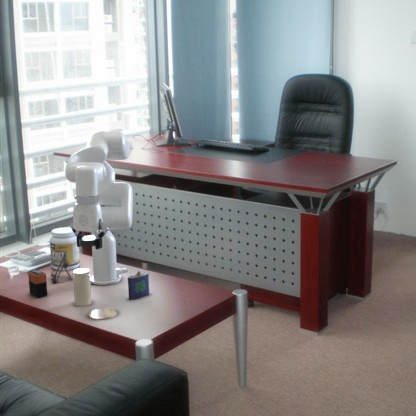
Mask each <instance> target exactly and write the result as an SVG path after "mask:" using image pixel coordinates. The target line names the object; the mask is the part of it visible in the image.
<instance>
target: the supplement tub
mask: <svg viewBox="0 0 416 416" xmlns="http://www.w3.org/2000/svg"><path fill="white" fill-rule="evenodd" d="M50 233H51V236H50V237H49V249H50V265H51V268H52V269H54V270H55V271H57V269H58V266H59V264H60V262H61V259H62V258H63V257H66V258H67V262H68V265H69V266H68V267H67V268H66V269H67V270H68V271H71V270H76V269H78V267H80V265H81V255H80V254H81V253H80V252H81V251H80V247H77V237H76V236H75V233H74V232H73V231H72V229H71V227H70V226H69V227H68V226H66V227H65V226H63V227H58V228H53V229H52V230H51V232H50ZM61 267H62V263H61V265H60V268H59V270H58V271H60V269H61ZM62 271H66V270H65V268H63V269H62Z"/></svg>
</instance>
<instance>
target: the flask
mask: <svg viewBox="0 0 416 416" xmlns="http://www.w3.org/2000/svg"><path fill="white" fill-rule="evenodd" d="M149 275H150V274H149V272H143V273H142V272H141V271H140V270H137V273H136V274H134V275H132V274H130V275H129V276H128V277H127V289H128V291H127V292H128V300H129V301H133V300H134V301H135V300H138V299H141V298H142V299H143V298H145V297H148V296H149V295H150V277H149Z"/></svg>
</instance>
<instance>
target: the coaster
mask: <svg viewBox="0 0 416 416" xmlns="http://www.w3.org/2000/svg"><path fill="white" fill-rule="evenodd" d="M117 314H118V312H117V310H116V309H113V308H109V307H108V308H107V307H103V308H96V309H94V310H91V311H89V312H88V314H87V315H88V317H89V318H90V319H92V320H96V321H97V320H109V319H112V318H114V317H115V316H117Z"/></svg>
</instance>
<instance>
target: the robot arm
mask: <svg viewBox="0 0 416 416" xmlns="http://www.w3.org/2000/svg"><path fill="white" fill-rule="evenodd" d="M127 138H128V137H127V136H126V135H125V134H124V133H123V132H122V131H119V130H97V131H93V132H92V133H91V134H90V135H89V137H88V140H87V143H86V145H85V147H84V148H81V149H80V150H78V151H76V152H74V153H72V154H71V155H70V156H69V158H68V160H67V163H66V166H65V170H64V171H65V173H64V174H65V178H66V180H67V181H68V182H70V183H74V184H75V195H74V197H73V199H74V200H75V201H76V202H75V203H74V206H73V211H72V221H71V222H70V223H69V225H68V226H69V227H70V228H71V229H72V231H73V232H74V233H75V236H76V237H77V247H79V248H80V247H81V246H80V245H79V238H80V237H82V236H84V234H83V233H90V235H93V236H96V239H95V246H91V253H92V255H91V256H92V276H90V284H93V285H98V286H108V285H114V284H116V283H119V282H120V281H121V280H122V276H121V275H122V274H127V273H128V272H129V270H128V268H122V267H119V268H118V266H117V265H118V263H117V243H116V242H117V241H116V238H115V236H114V234H113V233H112V231H122V230H129V229H131V227H132V224H133V211H134V209H133V208H134V191H133V187H132V185H131V184H130V183H129V182H125V181H116V171H115V169H114V168H113V166H112V165H111V164H110V163H109V162H108V161H125V160H127V159H129V157H130V155H131V146H130V142H129V140H128V139H127ZM101 205H103V206H101Z"/></svg>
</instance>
